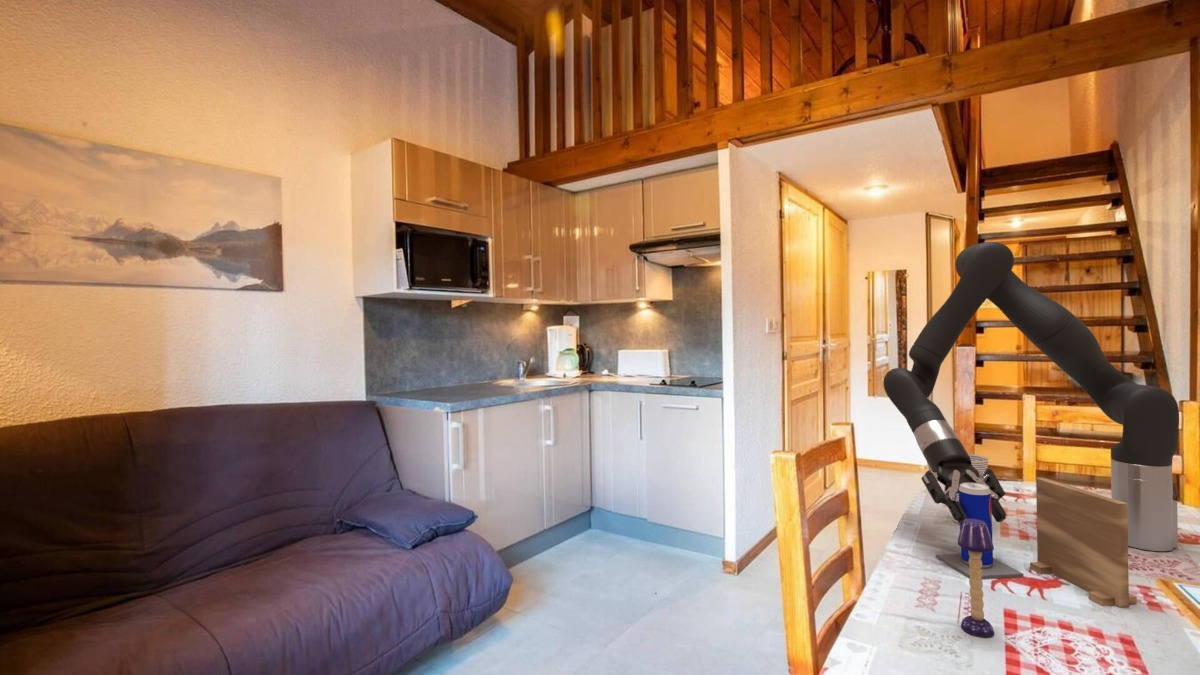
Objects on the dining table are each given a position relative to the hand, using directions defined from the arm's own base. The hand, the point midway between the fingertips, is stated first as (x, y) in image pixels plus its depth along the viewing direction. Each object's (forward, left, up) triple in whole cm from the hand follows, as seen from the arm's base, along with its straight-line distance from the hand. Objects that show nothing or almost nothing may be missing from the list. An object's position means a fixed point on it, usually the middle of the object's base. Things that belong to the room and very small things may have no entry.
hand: (982, 520), depth 106 cm
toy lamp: (+16, +19, -10) cm, 27 cm away
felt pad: (0, -2, -9) cm, 10 cm away
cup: (-15, -25, -10) cm, 30 cm away
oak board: (-12, +7, -9) cm, 17 cm away
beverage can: (0, -2, -9) cm, 9 cm away
